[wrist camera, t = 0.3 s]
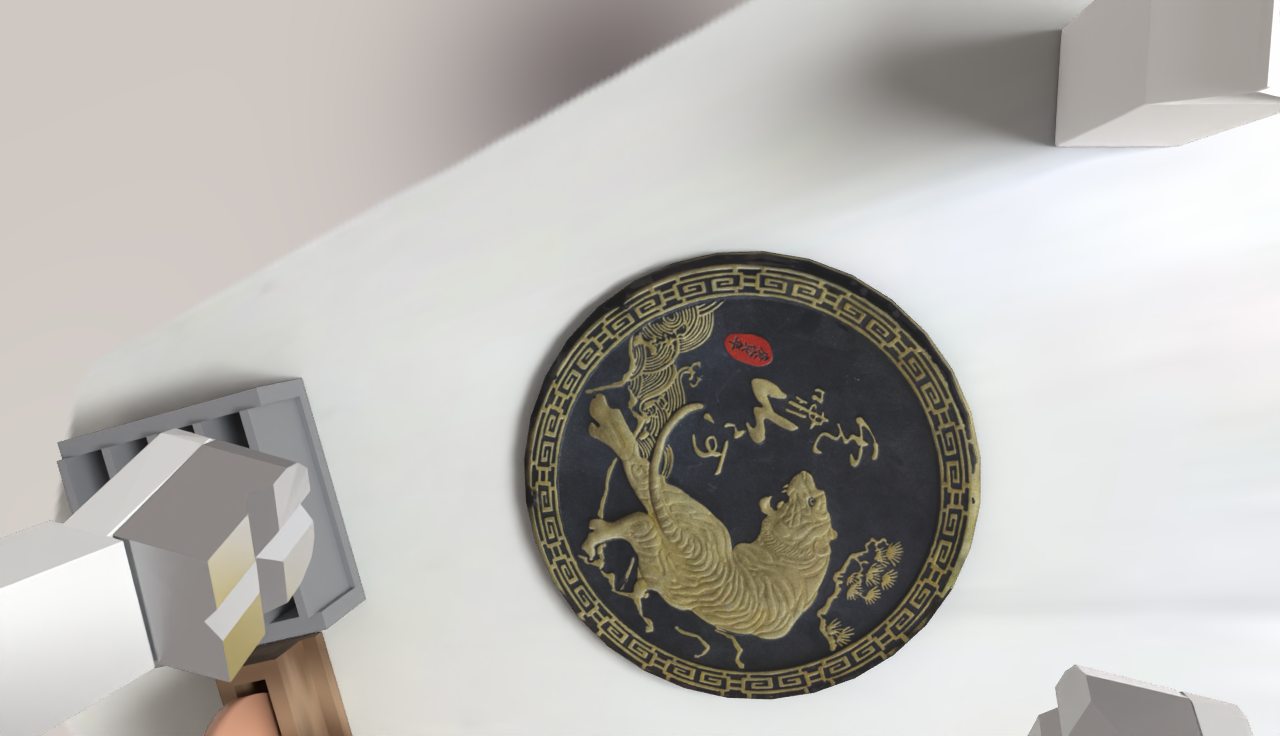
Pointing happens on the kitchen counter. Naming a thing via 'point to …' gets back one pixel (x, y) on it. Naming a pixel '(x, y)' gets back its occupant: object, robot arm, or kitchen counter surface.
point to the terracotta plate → (246, 718)
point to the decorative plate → (752, 475)
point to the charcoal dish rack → (265, 425)
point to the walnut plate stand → (293, 686)
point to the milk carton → (1166, 71)
